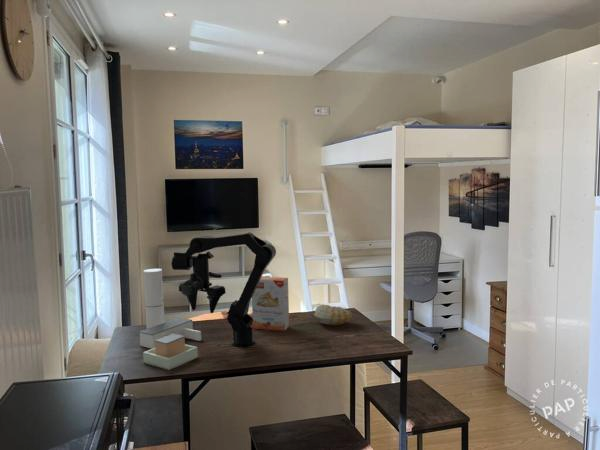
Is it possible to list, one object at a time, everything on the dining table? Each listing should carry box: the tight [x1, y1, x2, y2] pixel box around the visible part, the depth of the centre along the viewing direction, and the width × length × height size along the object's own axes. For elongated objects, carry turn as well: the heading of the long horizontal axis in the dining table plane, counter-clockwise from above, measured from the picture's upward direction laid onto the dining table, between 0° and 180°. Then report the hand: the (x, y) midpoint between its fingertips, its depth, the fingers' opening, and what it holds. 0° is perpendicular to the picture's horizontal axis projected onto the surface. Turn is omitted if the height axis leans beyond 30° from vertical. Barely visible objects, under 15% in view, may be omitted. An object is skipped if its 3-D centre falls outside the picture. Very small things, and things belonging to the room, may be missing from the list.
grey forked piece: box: [138, 317, 202, 349], centre depth 177 cm, size 16×20×5 cm
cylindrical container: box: [143, 268, 166, 329], centre depth 190 cm, size 7×7×25 cm
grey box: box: [155, 334, 186, 358], centre depth 158 cm, size 6×8×7 cm
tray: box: [142, 343, 199, 371], centre depth 159 cm, size 13×13×4 cm
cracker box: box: [251, 276, 290, 332], centre depth 189 cm, size 14×6×21 cm, turn 73°
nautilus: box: [313, 302, 353, 326], centre depth 196 cm, size 8×22×15 cm
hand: (202, 311), depth 174 cm, fingers open, 9 cm apart
